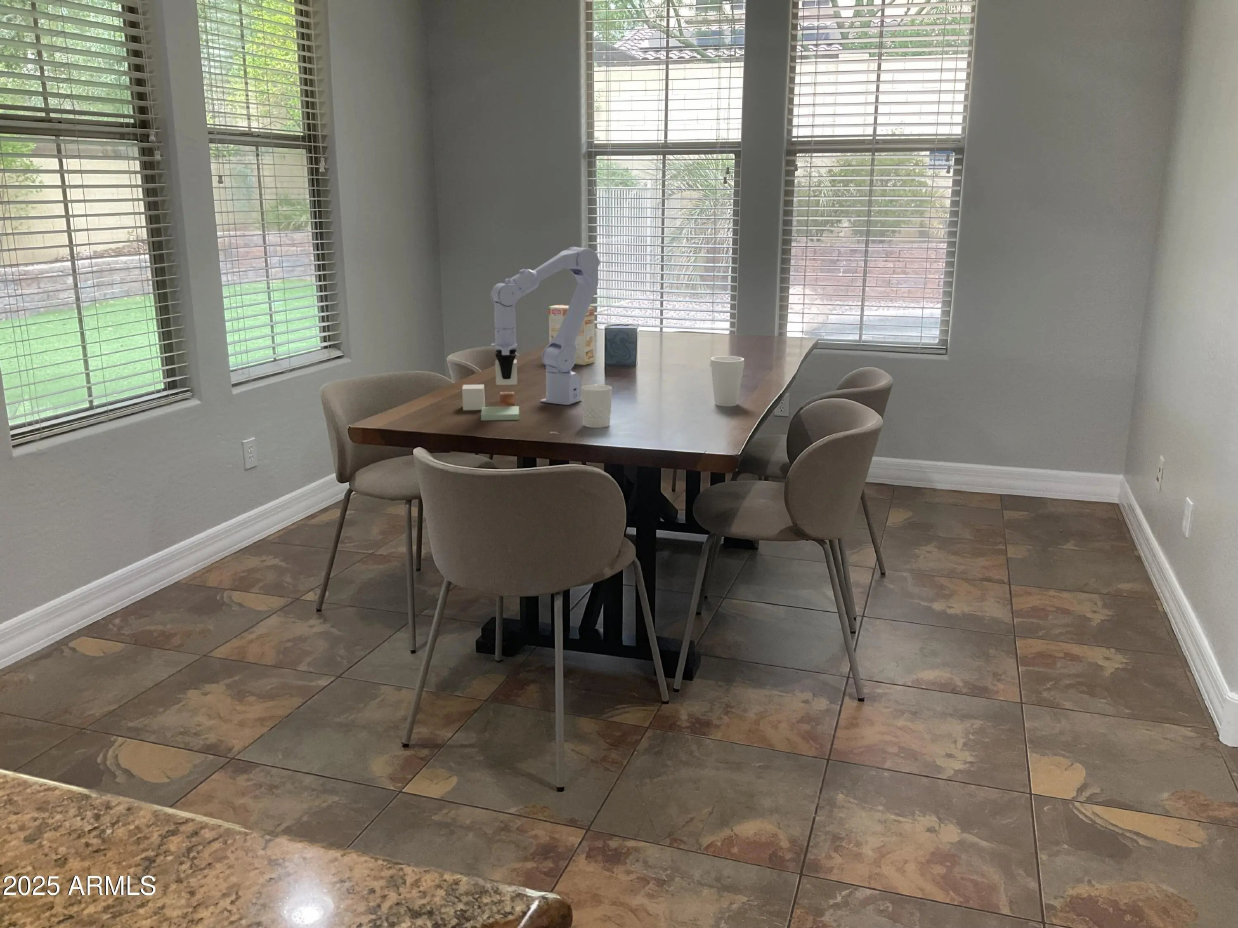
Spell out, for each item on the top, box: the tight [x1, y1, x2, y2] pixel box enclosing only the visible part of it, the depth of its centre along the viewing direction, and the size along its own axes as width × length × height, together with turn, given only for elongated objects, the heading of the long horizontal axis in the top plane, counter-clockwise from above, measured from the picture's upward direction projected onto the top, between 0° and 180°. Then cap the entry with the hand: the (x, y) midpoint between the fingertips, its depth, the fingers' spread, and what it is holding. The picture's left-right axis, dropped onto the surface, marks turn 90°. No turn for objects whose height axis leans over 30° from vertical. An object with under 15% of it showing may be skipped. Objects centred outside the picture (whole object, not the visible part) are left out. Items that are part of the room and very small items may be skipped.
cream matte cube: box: [494, 358, 518, 386], centre depth 278 cm, size 6×6×6 cm
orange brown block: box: [499, 391, 516, 407], centre depth 280 cm, size 4×4×4 cm
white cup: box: [580, 383, 613, 429], centre depth 258 cm, size 8×8×10 cm
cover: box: [461, 384, 486, 411], centre depth 279 cm, size 6×6×6 cm
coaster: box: [480, 405, 520, 421], centre depth 269 cm, size 10×10×2 cm
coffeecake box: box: [548, 304, 596, 366], centre depth 350 cm, size 15×7×20 cm, turn 58°
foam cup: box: [709, 355, 745, 407], centre depth 283 cm, size 10×9×13 cm
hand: (506, 376), depth 278 cm, fingers closed on cream matte cube, 6 cm apart
